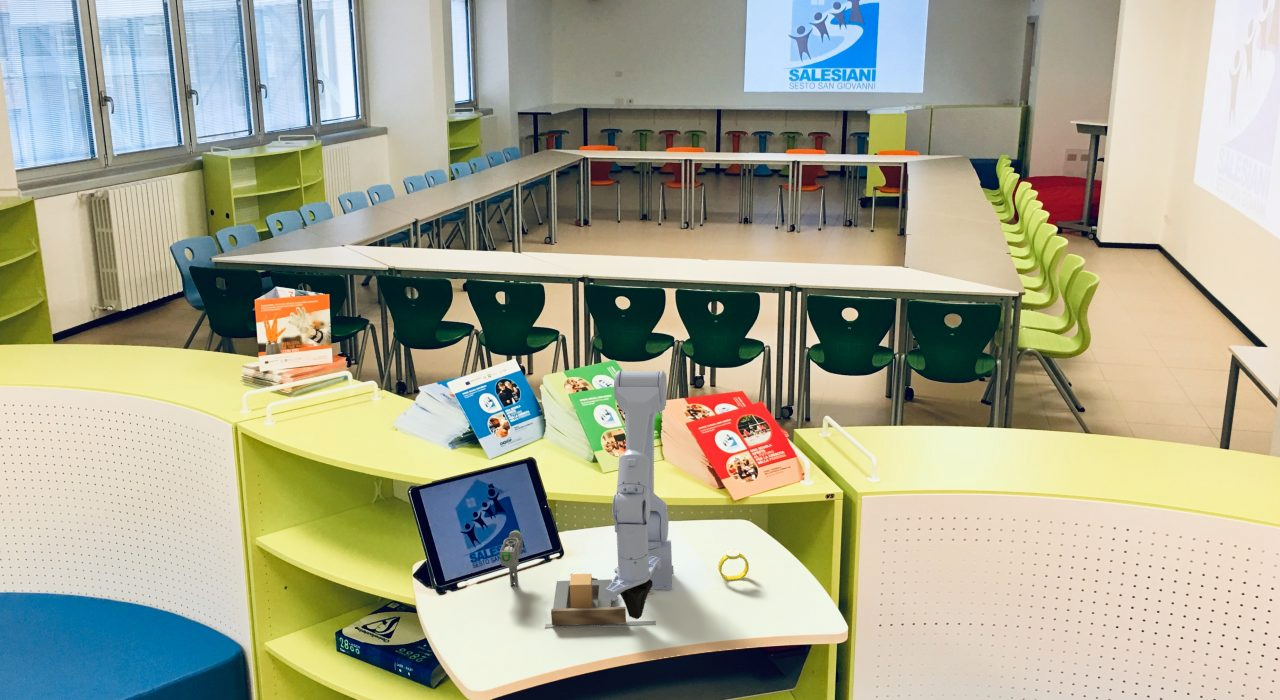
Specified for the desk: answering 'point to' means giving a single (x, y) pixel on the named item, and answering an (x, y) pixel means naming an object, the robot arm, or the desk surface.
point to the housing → (599, 600)
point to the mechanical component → (512, 554)
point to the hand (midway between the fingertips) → (635, 616)
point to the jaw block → (581, 591)
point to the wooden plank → (588, 615)
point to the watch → (733, 555)
